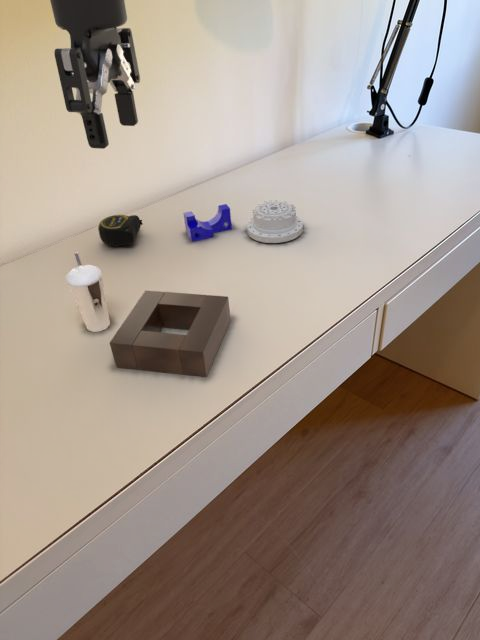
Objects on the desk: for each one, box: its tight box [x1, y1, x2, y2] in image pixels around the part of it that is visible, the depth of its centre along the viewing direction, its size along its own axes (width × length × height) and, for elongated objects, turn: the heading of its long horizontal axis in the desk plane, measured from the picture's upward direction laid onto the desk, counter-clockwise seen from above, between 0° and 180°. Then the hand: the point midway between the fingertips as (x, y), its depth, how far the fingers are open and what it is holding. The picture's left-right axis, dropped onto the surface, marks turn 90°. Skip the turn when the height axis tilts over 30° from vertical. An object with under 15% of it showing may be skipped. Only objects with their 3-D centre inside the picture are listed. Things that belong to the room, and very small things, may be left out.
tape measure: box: [97, 214, 144, 247], centre depth 93 cm, size 7×7×4 cm
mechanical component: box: [246, 199, 304, 244], centre depth 93 cm, size 10×4×10 cm
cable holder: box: [183, 203, 233, 243], centre depth 94 cm, size 8×4×4 cm, turn 112°
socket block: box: [109, 289, 232, 378], centre depth 69 cm, size 12×12×4 cm
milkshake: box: [65, 252, 111, 333], centre depth 71 cm, size 5×5×10 cm
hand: (115, 135), depth 64 cm, fingers open, 8 cm apart
